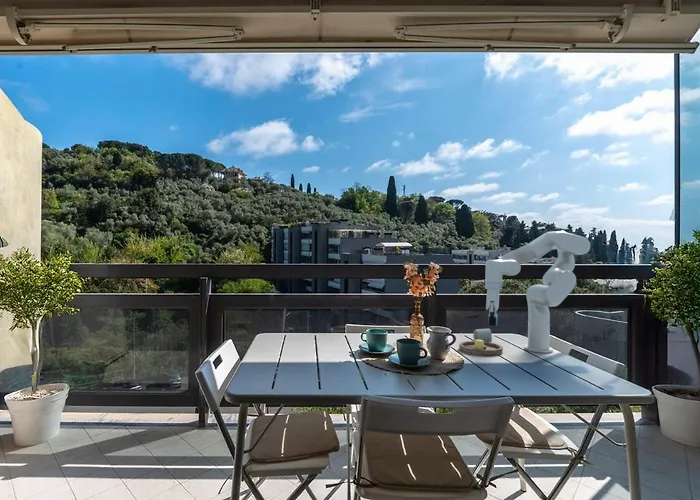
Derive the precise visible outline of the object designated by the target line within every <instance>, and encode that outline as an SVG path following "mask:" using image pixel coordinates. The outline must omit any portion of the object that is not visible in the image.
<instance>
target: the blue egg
mask: <svg viewBox="0 0 700 500" xmlns="http://www.w3.org/2000/svg"><path fill="white" fill-rule="evenodd" d="M487 317H488V319H487V320H488V321H487V322H488V326H492V325H489V314H488V316H487ZM495 317H496V327H497V326H498V313H497V314H496V316H495Z"/></svg>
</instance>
